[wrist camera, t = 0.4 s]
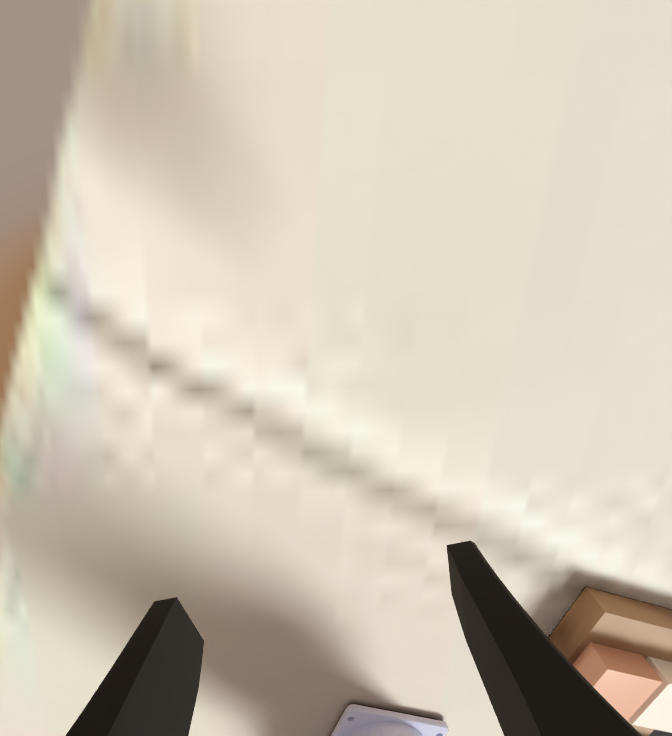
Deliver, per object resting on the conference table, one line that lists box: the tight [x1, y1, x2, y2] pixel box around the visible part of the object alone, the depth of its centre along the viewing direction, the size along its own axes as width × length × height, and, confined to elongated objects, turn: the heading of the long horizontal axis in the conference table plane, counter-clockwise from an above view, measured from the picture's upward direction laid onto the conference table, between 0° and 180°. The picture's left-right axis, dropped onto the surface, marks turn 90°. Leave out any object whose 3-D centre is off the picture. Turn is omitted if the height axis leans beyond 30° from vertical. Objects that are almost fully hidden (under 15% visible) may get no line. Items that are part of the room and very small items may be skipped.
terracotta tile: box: [572, 642, 662, 721], centre depth 25 cm, size 4×4×2 cm
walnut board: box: [549, 587, 672, 736], centre depth 27 cm, size 10×10×2 cm
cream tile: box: [629, 656, 672, 733], centre depth 25 cm, size 4×4×2 cm
